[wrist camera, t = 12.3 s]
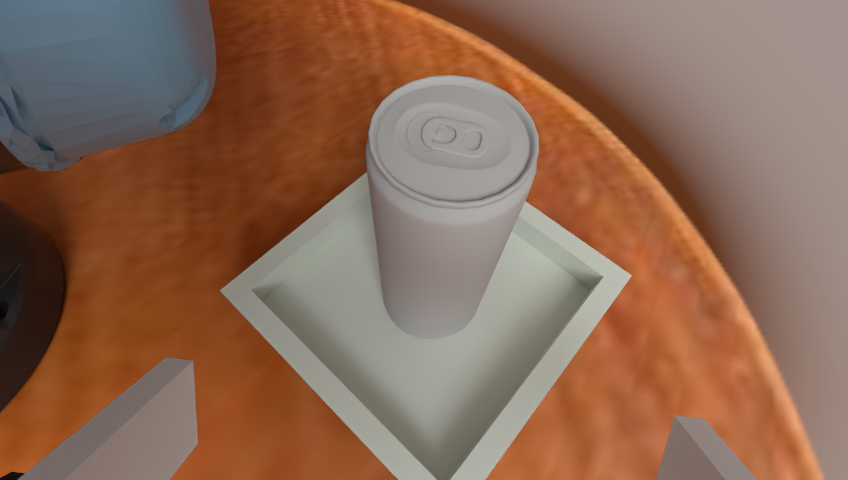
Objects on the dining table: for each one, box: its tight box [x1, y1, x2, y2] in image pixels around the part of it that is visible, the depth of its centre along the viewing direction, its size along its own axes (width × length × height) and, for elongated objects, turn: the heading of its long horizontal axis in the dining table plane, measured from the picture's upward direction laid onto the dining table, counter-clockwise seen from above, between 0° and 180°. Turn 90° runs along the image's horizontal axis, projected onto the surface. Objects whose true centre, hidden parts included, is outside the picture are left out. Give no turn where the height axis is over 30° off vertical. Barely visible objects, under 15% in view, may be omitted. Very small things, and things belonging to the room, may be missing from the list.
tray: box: [220, 172, 632, 480], centre depth 21 cm, size 14×14×2 cm
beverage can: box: [365, 75, 539, 339], centre depth 16 cm, size 5×5×12 cm
